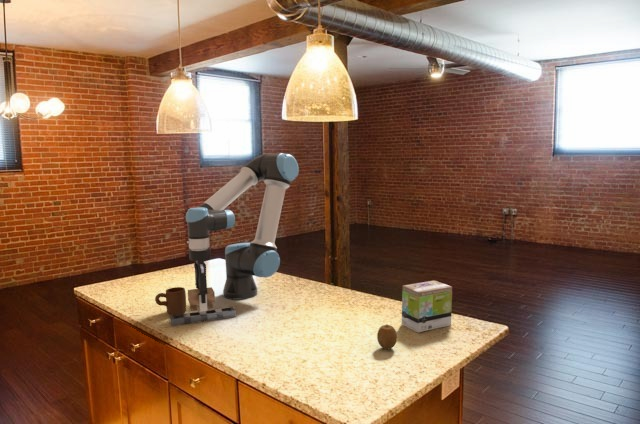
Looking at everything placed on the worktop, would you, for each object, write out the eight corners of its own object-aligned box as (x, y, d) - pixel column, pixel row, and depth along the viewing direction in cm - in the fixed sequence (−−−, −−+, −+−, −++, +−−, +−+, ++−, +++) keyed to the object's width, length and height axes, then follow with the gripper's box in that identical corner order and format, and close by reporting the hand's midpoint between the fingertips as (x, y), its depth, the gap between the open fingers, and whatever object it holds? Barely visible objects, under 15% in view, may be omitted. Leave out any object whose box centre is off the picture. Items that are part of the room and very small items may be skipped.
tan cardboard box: (212, 304, 184) (211, 287, 183) (215, 309, 178) (214, 291, 177) (188, 307, 181) (187, 289, 180) (190, 313, 174) (189, 294, 174)
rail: (233, 312, 187) (232, 306, 186) (235, 316, 182) (235, 310, 182) (169, 322, 178) (169, 315, 178) (170, 326, 173) (170, 319, 173)
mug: (159, 319, 181) (158, 295, 180) (153, 314, 187) (151, 291, 186) (189, 312, 188) (188, 289, 187) (182, 308, 194) (181, 285, 193)
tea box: (419, 334, 161) (419, 292, 159) (401, 324, 170) (401, 285, 168) (452, 325, 168) (452, 285, 166) (433, 317, 177) (433, 279, 175)
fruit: (383, 354, 145) (383, 329, 144) (373, 347, 151) (373, 323, 150) (400, 350, 148) (400, 326, 147) (390, 343, 153) (390, 319, 152)
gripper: (186, 245, 184) (189, 302, 187) (192, 254, 166) (195, 317, 169) (205, 243, 187) (208, 299, 190) (213, 252, 169) (216, 314, 172)
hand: (202, 307), depth 179 cm, fingers closed on tan cardboard box, 7 cm apart
